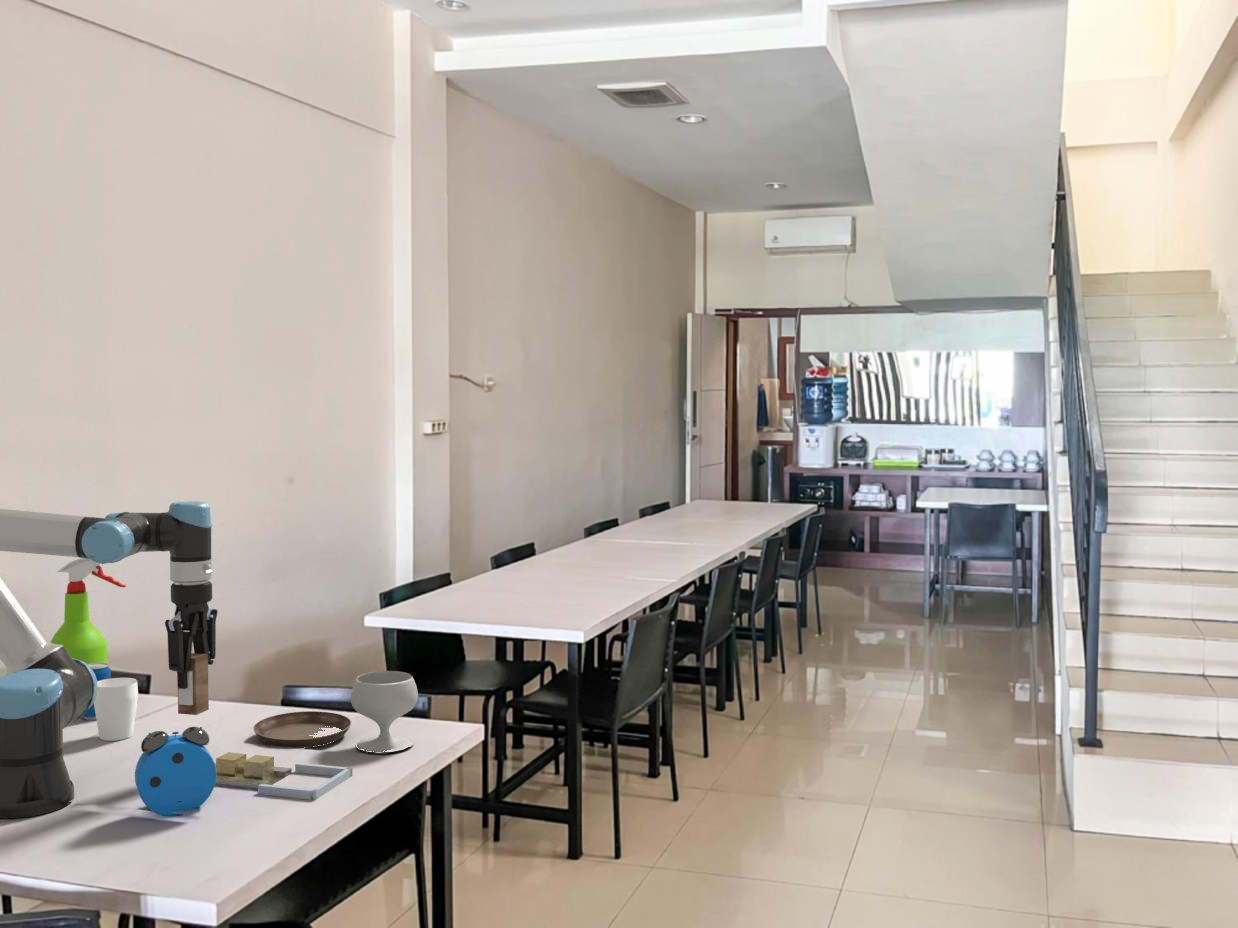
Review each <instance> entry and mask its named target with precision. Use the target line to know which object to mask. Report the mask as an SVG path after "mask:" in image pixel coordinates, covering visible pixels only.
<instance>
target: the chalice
mask: <svg viewBox="0 0 1238 928" xmlns="http://www.w3.org/2000/svg"><path fill="white" fill-rule="evenodd" d="M351 689H352V690H351V694H350V700H351V701H350V702H351V705H352V708H353V709H354V711H356V712H357V713H358V714H359V715H362V716H364V717H365V718H368V719H369V720H371V721H373V722H375V723H376V724H377V726H378V727H379V731H380V732H379V735H378V737H377V736H372V737H368V738H363V739H362V740H360V741H358V742H357V743H356V744H357V747H358V748H359V749H364V751H366V750H367V751H372V752H373V751H374V752H383V751H384V750H385V751H387V750H391V749H397V748H400V747H405V745H408V744H409V743H408V742H410V741H409V739H410V738H408V737H405V736H401V737H399V736H400V735H391V734H390V727H391V725H392V724H393V723H394V721H396V720H397V719H399V718H401V717H402V716H405V715H406V714H407V713H409V712H410V711H412V709H414V707H416V704H417V702H418V699H419V692H418V688H417V684H416V682H415V679H414V677H413V675H411V673H408V672H404V671H398V670H378V671H377V670H376V671H371V672H366V673H362V674H359V675H358V676H357V677H356V679H355V681H354V683H353V686H352V688H351ZM404 737H405V738H404ZM407 738H408V739H407ZM385 751H384V752H385Z"/></svg>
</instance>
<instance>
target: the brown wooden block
mask: <svg viewBox="0 0 1238 928" xmlns="http://www.w3.org/2000/svg"><path fill="white" fill-rule="evenodd" d="M189 671H193V705H180V704H178V703H177V713H178V714H180V715H192V716H198V715H200V714H202V713H204V712H206V711H208V710H209V709H210V708H209V706H210V704H209V703H210V702H209V701H210V700H209V698H210V697H209V665H208V654H200V653H194V652H191V661H190V669H189Z"/></svg>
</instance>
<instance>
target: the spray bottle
mask: <svg viewBox="0 0 1238 928" xmlns="http://www.w3.org/2000/svg"><path fill="white" fill-rule="evenodd" d="M101 565H102V566H103V565H104V564H102V563H97V562H94V561H92V560H91V559H86V558H80V557H76V558H75V559H72V560H71V561H69V562H67V564H65V565H64V566H62V567H61V568H59V570H58V571H57V573H67V574H68V583H67V586H66V587H67V588H66V592H65V593H64V617H63V618H64V620H63V621H64V622H63V623H62V624H61V625H60V627H59V628H58V629H57V631H56V632H55V633H54V635H53V636H52V637H51V638H52V639H50V640H49V642H50V643H53V644H59V645H63V646H64V648H65V649H66V650H67V652H68V653H69V655H70V656H71V657H72V658H74V659H77V660H81V661H83V662H85V663H86V664H92V663H106V664H108V665H109V663H108V641H107V640H106V639H105V637H104V635H102V633H101V631H100V630H99V629H98V627H96V626H95V625H94V624H93V623H92V622H91V621H90V609H89V608H90V607H89V592H88V591H87V589H86V588H87V587H86V583H85V582H84V579H86V578H87V577H88V576H90V575H92V576H94V577H97V578H99V579H101V580H104V581H106V582H109V583H111V584H112V585H115V586H116V587H119V588H126V587H127V585H126V584H122V583H121V582H120V581H119V580H115V579H114V578H113V576H111V575H106V574H105V573H104V571H103V567H102V566H101Z"/></svg>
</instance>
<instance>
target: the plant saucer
mask: <svg viewBox="0 0 1238 928" xmlns="http://www.w3.org/2000/svg"><path fill="white" fill-rule="evenodd" d="M351 725H352V721H351V719H350V718H349V717H347V716H346V715H344V714H343V715H342V714H339V713H336V712H328V711H311V710H306V711H295V712H294V711H293V712H284V713H281V714H280V713H279V714H275V715H273V716H272V715H271V716H268V717H266V718H263V719H262V720H259V721H258V722H256V723H255V724H254V726H253V728H252V729H253V732H254V733H255V735H256V736H257V738H258V739H259V740H261V741H262V742H263V743H264V744H265V745H268V746H273V747H282V748H292V749H293V748H294V749H302V748H304V747H313V746H318V745H323V744H327V743H330V742H333V741H335V740H337V741H338V739H339V740H340V739H341V738H343V737H344V736H345V735H346V733H347V732H348V731H349V729H350V728H351ZM325 726H326V727H325ZM327 726H328V727H327ZM329 726H330V727H329ZM333 727H336V728H339V729H341V730H342V731H340V732H337V733H334V734H331V735H327V736H322V737H316V738H315V737H314V738H313V736H309V735H315V734H314V733H318V731H323V730H322V729H321V728H333ZM319 728H320V729H319ZM324 731H325V730H324ZM316 735H317V734H316ZM335 742H336V741H335ZM333 743H334V742H333Z"/></svg>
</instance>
